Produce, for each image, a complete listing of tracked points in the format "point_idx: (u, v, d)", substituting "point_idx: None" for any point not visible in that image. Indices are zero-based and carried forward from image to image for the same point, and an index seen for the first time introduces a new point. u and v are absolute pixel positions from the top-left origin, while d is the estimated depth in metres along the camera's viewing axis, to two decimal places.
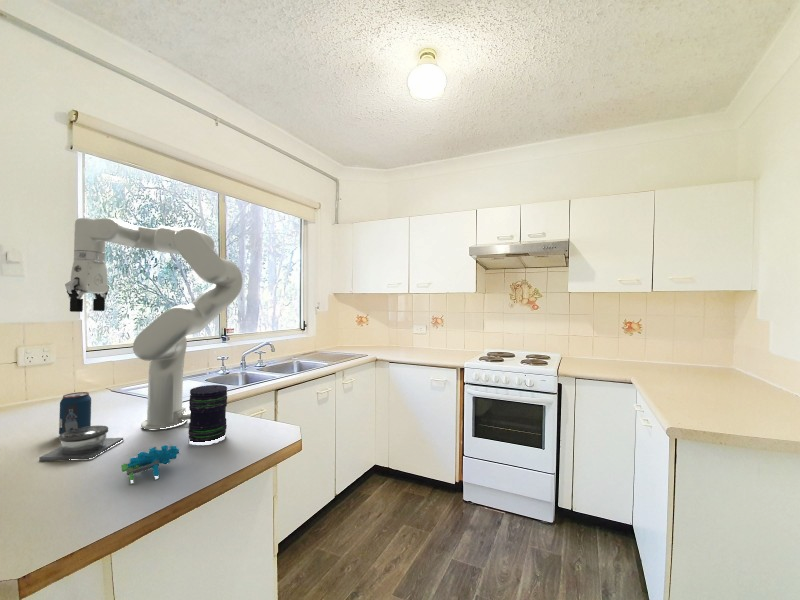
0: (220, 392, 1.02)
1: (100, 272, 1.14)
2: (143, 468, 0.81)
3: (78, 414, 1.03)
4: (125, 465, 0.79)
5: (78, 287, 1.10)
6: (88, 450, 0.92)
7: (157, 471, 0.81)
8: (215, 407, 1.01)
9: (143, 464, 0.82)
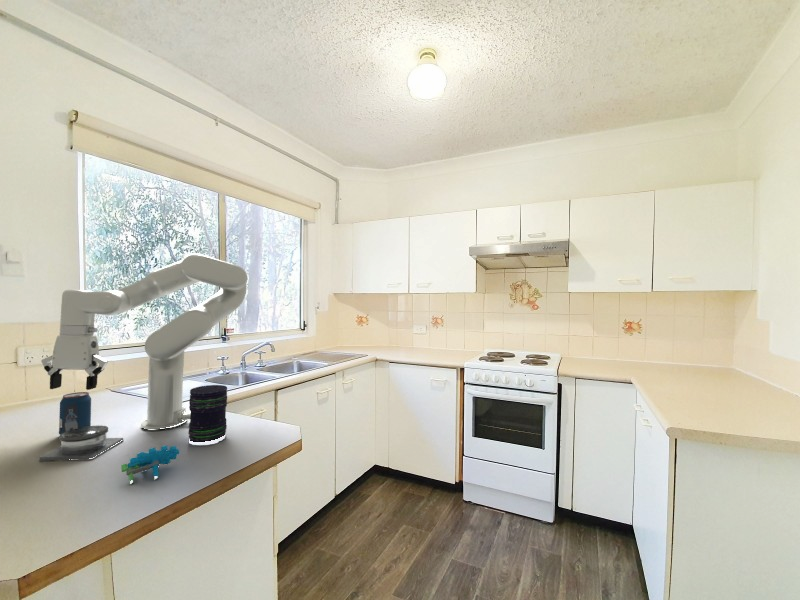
0: (220, 392, 1.02)
1: None
2: (143, 468, 0.80)
3: (78, 414, 1.03)
4: (125, 465, 0.79)
5: None
6: (88, 450, 0.92)
7: (157, 471, 0.81)
8: (215, 407, 1.01)
9: (143, 464, 0.82)
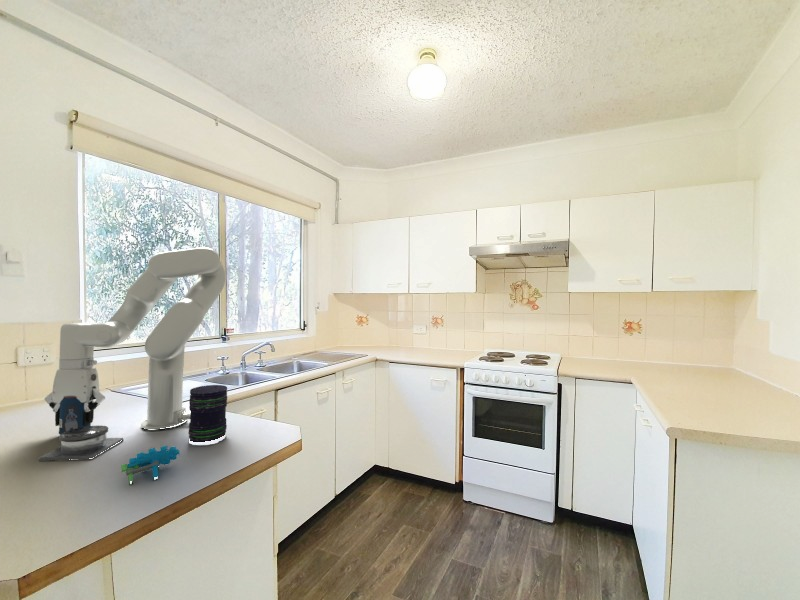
0: (220, 392, 1.02)
1: None
2: (142, 469, 0.80)
3: (78, 414, 1.03)
4: (125, 465, 0.79)
5: None
6: (88, 450, 0.92)
7: (156, 472, 0.81)
8: (215, 407, 1.01)
9: (143, 464, 0.82)
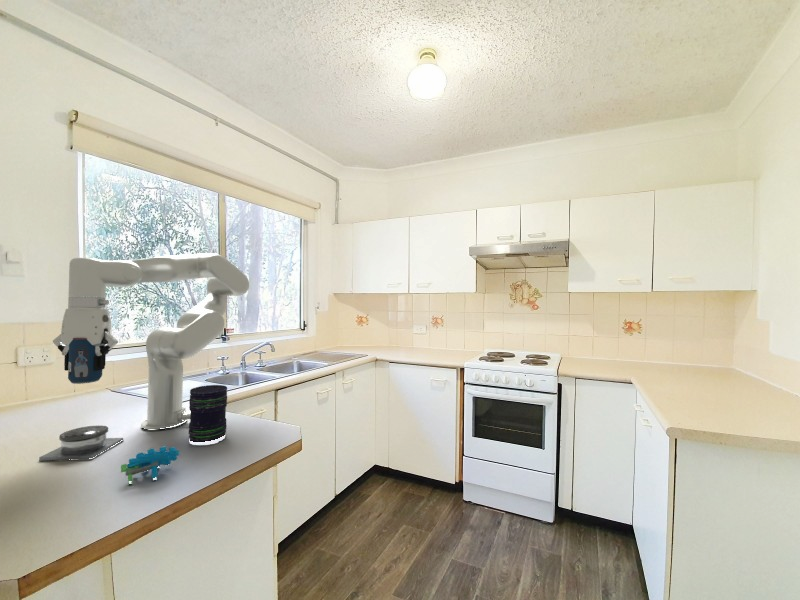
0: (220, 392, 1.02)
1: None
2: (142, 469, 0.80)
3: (88, 358, 0.94)
4: (124, 466, 0.79)
5: None
6: (88, 450, 0.92)
7: (155, 473, 0.80)
8: (215, 407, 1.01)
9: (143, 465, 0.81)
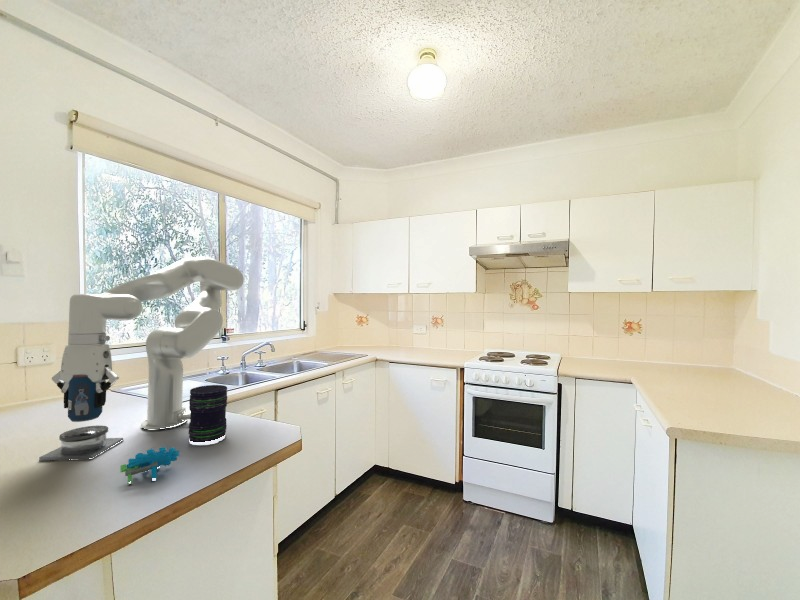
0: (220, 392, 1.02)
1: None
2: (141, 469, 0.80)
3: (89, 395, 0.93)
4: (124, 466, 0.79)
5: None
6: (88, 450, 0.92)
7: (155, 473, 0.80)
8: (215, 407, 1.01)
9: (142, 465, 0.81)
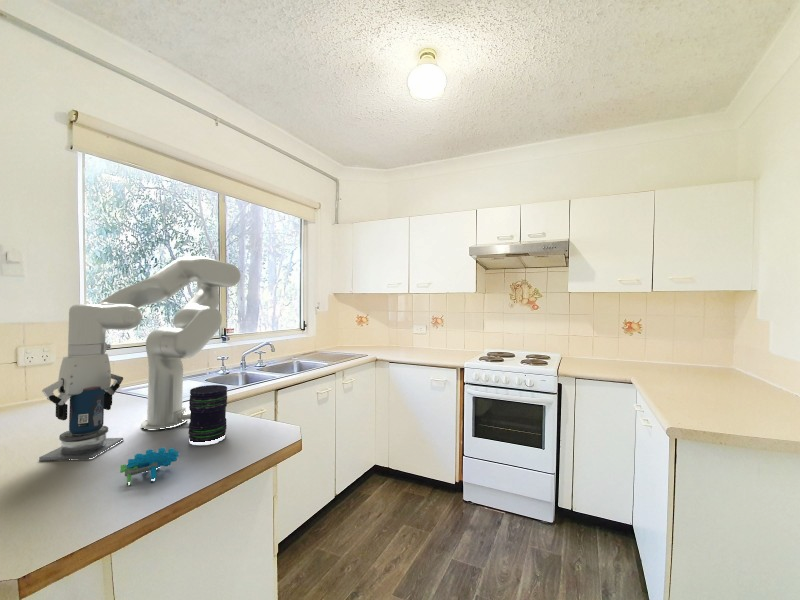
0: (220, 392, 1.02)
1: None
2: (141, 470, 0.80)
3: (103, 405, 0.96)
4: (124, 466, 0.79)
5: None
6: (88, 450, 0.92)
7: (154, 474, 0.80)
8: (215, 407, 1.01)
9: (142, 466, 0.81)
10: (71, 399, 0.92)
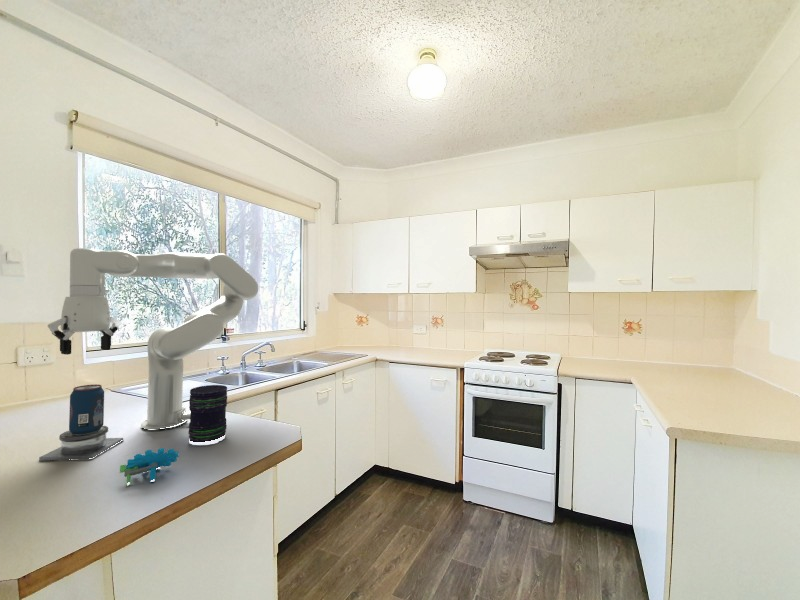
0: (220, 392, 1.02)
1: None
2: (140, 470, 0.80)
3: (103, 405, 0.96)
4: (123, 466, 0.79)
5: None
6: (88, 450, 0.92)
7: (153, 474, 0.80)
8: (215, 407, 1.01)
9: (142, 466, 0.81)
10: (71, 399, 0.92)
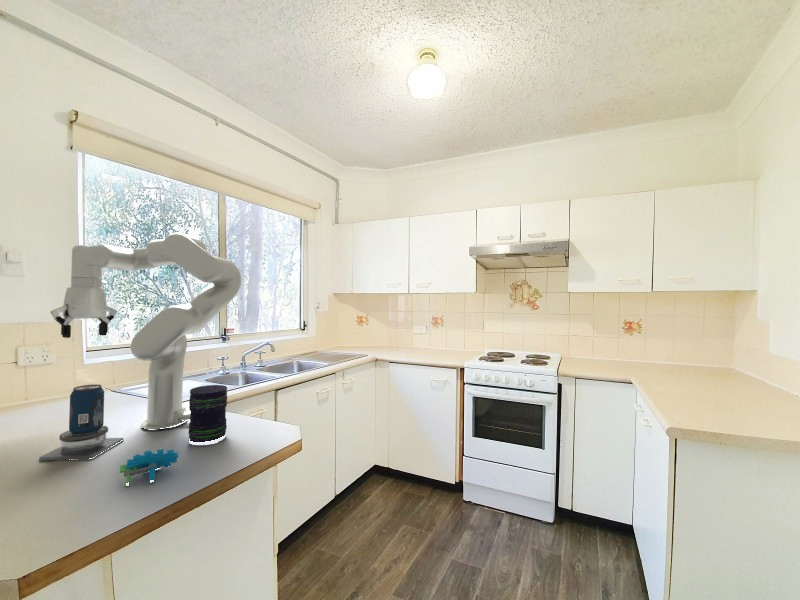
0: (220, 392, 1.02)
1: None
2: (140, 471, 0.79)
3: (103, 405, 0.96)
4: (123, 466, 0.79)
5: None
6: (88, 450, 0.92)
7: (153, 475, 0.79)
8: (215, 407, 1.01)
9: (142, 466, 0.81)
10: (71, 399, 0.92)
